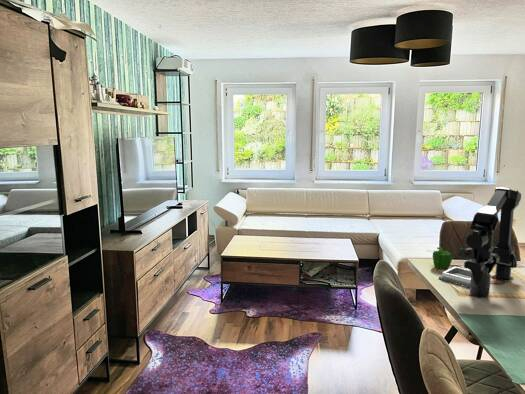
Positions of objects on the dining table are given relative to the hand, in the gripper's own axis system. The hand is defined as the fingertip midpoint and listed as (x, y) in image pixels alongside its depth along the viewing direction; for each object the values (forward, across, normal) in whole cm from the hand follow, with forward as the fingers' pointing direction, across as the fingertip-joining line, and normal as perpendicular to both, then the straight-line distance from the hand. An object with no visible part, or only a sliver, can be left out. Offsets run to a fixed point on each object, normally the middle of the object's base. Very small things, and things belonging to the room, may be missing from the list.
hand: (480, 281), depth 158 cm
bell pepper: (+6, -20, -25) cm, 33 cm away
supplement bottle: (+6, 0, 0) cm, 6 cm away
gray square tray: (+6, -12, -12) cm, 18 cm away
